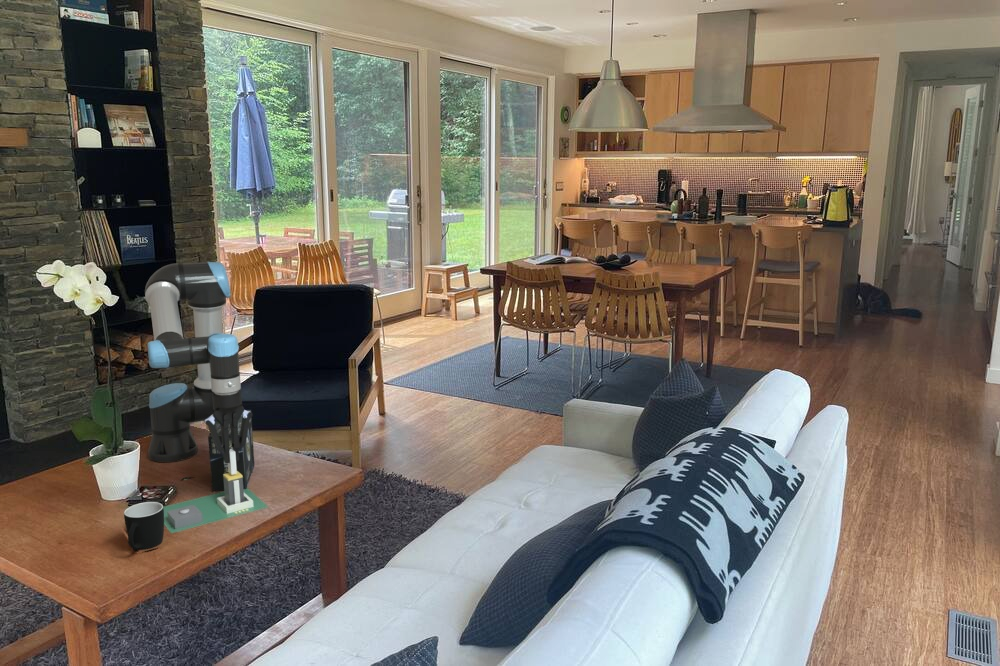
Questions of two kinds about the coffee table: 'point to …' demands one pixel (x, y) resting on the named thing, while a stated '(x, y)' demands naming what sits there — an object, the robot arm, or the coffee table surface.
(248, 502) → the board
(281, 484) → the coffee table surface
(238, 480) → the plug
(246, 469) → the box
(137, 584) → the coffee table surface
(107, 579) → the coffee table surface
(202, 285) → the robot arm
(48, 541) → the coffee table surface
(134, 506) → the mug
